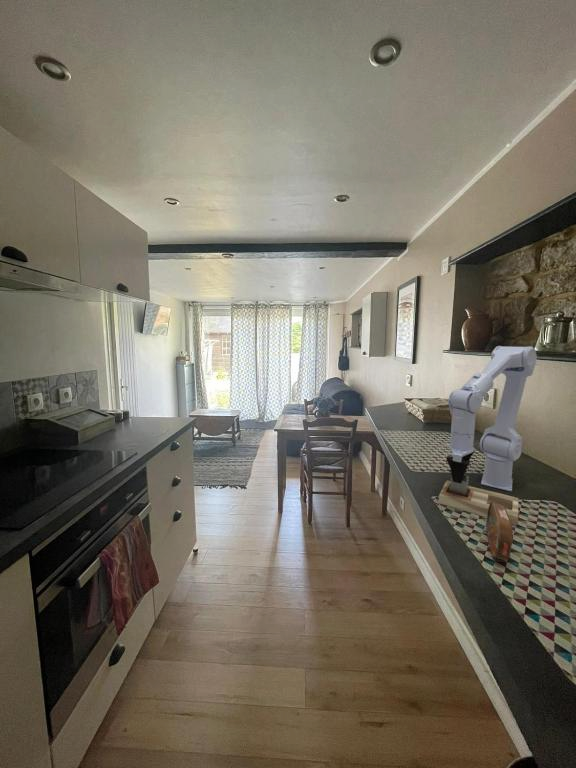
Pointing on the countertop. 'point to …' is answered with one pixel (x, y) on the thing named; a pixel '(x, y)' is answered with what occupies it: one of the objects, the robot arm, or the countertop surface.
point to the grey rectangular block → (460, 487)
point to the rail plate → (479, 501)
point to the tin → (499, 531)
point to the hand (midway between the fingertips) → (459, 477)
